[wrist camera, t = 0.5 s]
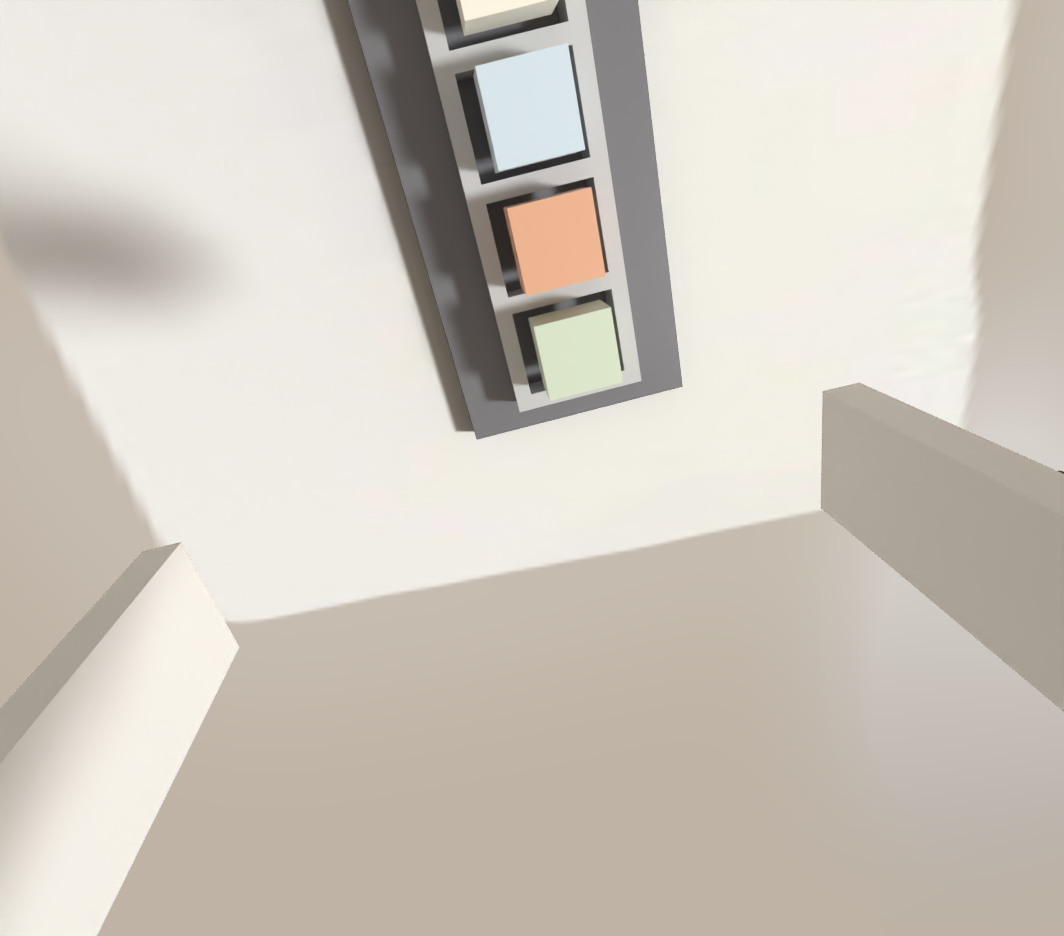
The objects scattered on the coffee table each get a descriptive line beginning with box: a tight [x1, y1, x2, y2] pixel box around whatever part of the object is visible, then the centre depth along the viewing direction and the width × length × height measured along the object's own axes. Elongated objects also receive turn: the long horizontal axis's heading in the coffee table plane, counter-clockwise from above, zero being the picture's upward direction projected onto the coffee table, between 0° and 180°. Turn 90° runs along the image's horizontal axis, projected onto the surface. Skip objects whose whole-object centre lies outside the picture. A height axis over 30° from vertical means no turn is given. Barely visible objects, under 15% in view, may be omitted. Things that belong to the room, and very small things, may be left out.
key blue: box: [473, 43, 585, 173], centre depth 24 cm, size 4×4×2 cm
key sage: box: [528, 300, 623, 401], centre depth 28 cm, size 4×4×2 cm
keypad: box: [348, 0, 682, 439], centre depth 27 cm, size 24×12×3 cm, turn 13°
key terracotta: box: [503, 187, 606, 296], centre depth 26 cm, size 4×4×2 cm
